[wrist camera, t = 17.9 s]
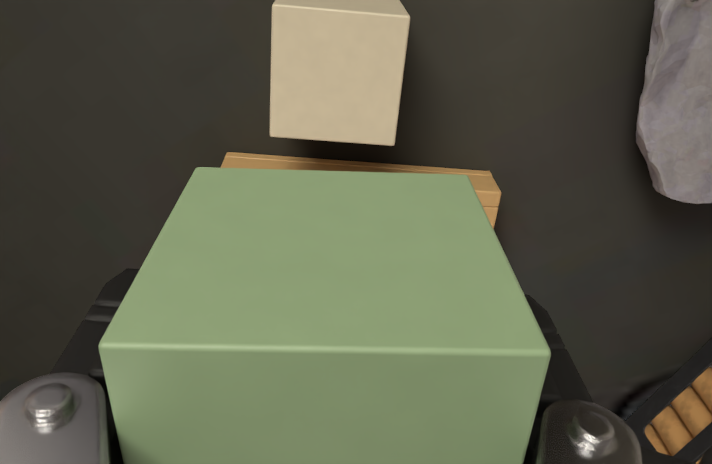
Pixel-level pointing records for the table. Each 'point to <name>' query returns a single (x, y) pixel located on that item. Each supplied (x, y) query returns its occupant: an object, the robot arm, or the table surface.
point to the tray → (479, 179)
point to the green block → (325, 326)
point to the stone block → (678, 101)
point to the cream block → (337, 69)
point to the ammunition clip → (679, 411)
